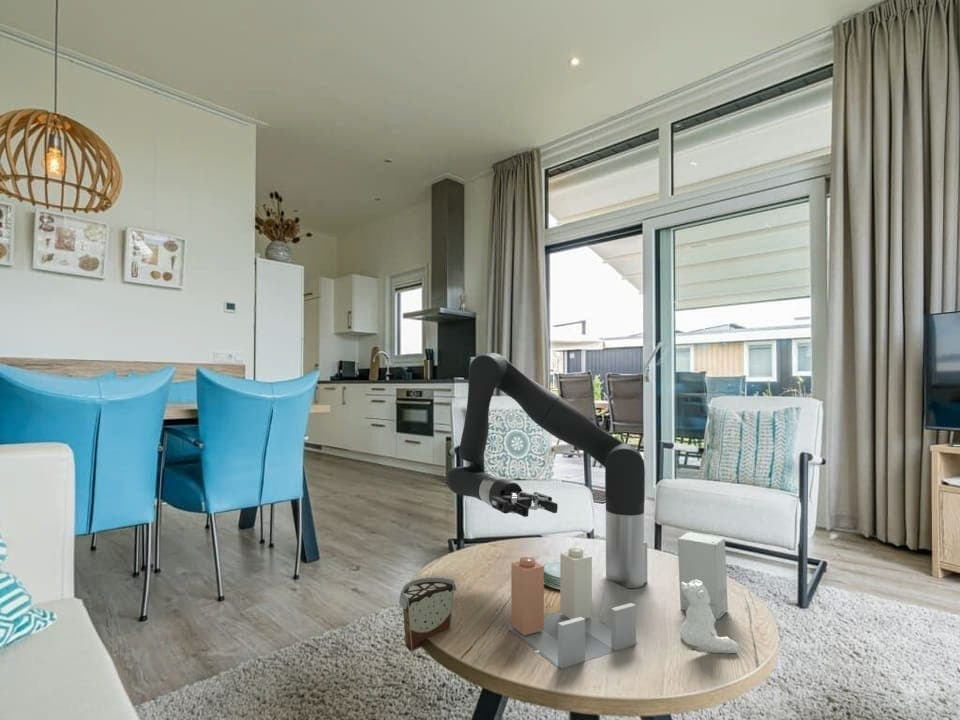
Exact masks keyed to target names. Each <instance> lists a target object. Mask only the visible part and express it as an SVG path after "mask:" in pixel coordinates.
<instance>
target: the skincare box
mask: <svg viewBox="0 0 960 720" xmlns="http://www.w3.org/2000/svg"><path fill="white" fill-rule="evenodd" d="M677 552H678V554H677V556H678V557H677V558H678V581H679V603H680V604H679V605H680V610H682V611H685V612H686V611H687V610H688V607H689V606H690V605H691V603H690V602H689V600H688V599H687V596H686V595H684V591H683V590H682V588H681V583H682V582H684V583H686V584H688V583H689V582H690V581H692V580H700V581H702V582H703V586H704V587H705V588H706V589H707V591H708V595H709V596H710V603H709V605H710V608H711V610H712V614H713V616H714V618H715V619H716V621H719V620H720V619H721V618H722V617H723V615H725V614H726V613H727V612H728V610H729V605H728V583H727V561H726V559H727V558H726V539H725V537H718V536H714V535H709V534H708V535H707V534H700V533H695V532H690V531H688V532H686V533H685V534H682V536H680V537H678V538H677Z"/></svg>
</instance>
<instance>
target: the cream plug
mask: <svg viewBox="0 0 960 720" xmlns="http://www.w3.org/2000/svg"><path fill="white" fill-rule="evenodd" d="M559 559H560V560H559V561H560V562H559V563H560V565H559V568H560V576H559V577H560V579H559V580H560V585H559V586H560V588H559V589H560V590H559V591H560V599H559V601H560V602H559V603H560V604H559V605H560V608H559V613H561V614H563V615H565V616H566V617H568V618H569V619H574V618H578V617H582V618H584V619H586V618H589V617H593V579H592V578H593V556H592V555H589V554H587V553H586V552H585V553H584V549H583V548H579V547H570V548H569V549H568V551H567V552H562V553H560V558H559Z"/></svg>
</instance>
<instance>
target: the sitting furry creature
mask: <svg viewBox="0 0 960 720" xmlns="http://www.w3.org/2000/svg"><path fill="white" fill-rule="evenodd" d="M681 588H682V590H683V591H684V595H686V596H687V599H688V600H689V602H690V603H691V605H690V606H689V607H688V610H687V611H685V614H686V615H685V620H683V623H682V625H681V629H680V631H679V635H680V638H681V640H682V641H683V642H684V643H685V644H686V645H689V646H693V647H694V648H692V651H696V652H698V653H705V652H706V653H710V652H712V654H713V653H714V652H715V653H716V654H728V653H734V654H736V653H738V652H739V644H738V643H737V642H736V641H735V640H733V639H731V638H730V637H729V636H726V635H725V636H718V634H717V633H718V632H717V630H716V628H715V623H716V622H717V619H715V618H714V616H713V614H712V610H711V608H710V605H709V603H710V596H709V595H708V591H707V589H706V588H705V587H704V586H703V582H702V581H700V580H692V581H690V582H689V583H688V584H686V583H684V582H682V583H681ZM715 653H714V654H715Z"/></svg>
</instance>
